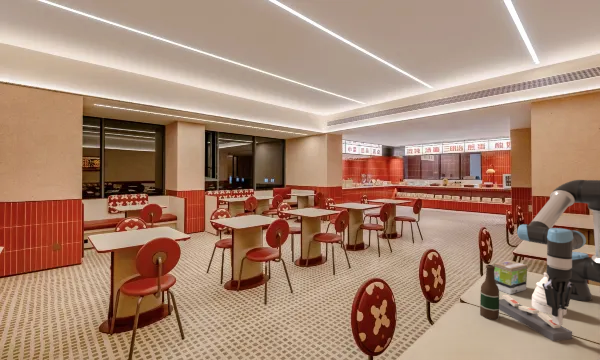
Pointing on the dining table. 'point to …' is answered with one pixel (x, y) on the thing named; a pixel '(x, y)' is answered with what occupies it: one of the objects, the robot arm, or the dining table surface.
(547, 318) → the end rocker
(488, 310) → the beer bottle
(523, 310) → the middle rocker
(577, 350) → the dining table surface
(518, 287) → the tea box
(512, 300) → the rocker
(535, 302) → the honey pot
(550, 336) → the power strip
